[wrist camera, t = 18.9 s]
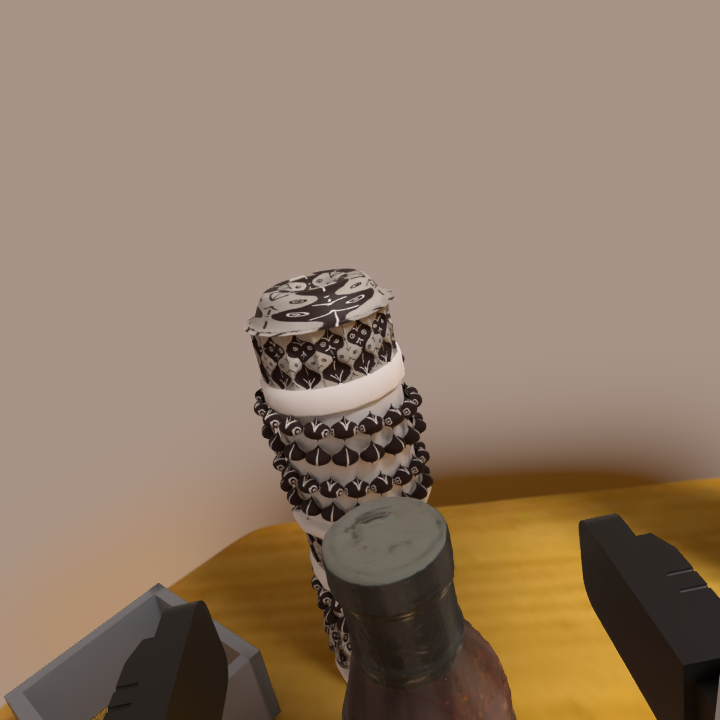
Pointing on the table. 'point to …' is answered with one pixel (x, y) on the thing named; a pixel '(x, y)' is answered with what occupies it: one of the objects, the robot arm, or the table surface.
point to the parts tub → (110, 652)
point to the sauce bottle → (408, 619)
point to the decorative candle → (336, 410)
